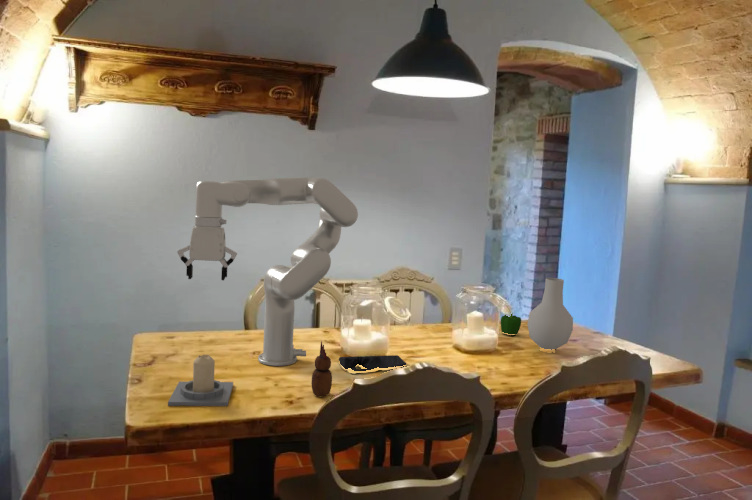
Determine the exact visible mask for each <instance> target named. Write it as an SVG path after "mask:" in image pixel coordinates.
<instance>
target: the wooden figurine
mask: <svg viewBox="0 0 752 500" xmlns="http://www.w3.org/2000/svg"><path fill="white" fill-rule="evenodd" d="M331 366H332V360H331V357H330V356H328V355H327V352H326V349H325V344H323V342H322V341H320V348H319V355H317V356H316V357H315V359H314V367H315V369H314V370H313V371H312V374H311V391H312V394H313V395H314V396H315V395H316V396H315V397H317V396H325V397H328V396H329V395H330V392H331V389H332V385H333V374H332V373H333V372H331V369H330V368H331Z"/></svg>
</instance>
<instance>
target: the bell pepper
mask: <svg viewBox="0 0 752 500" xmlns="http://www.w3.org/2000/svg"><path fill="white" fill-rule="evenodd" d="M506 315H507V314H504V315H501V318H500V329H501V333H502V332H504V333H508V334H517V333H518V334H519V331H520V329H521V325H522V319H521V317H519V316H516V315H513V312H512V314H511V316H510V315H509V316H510V317H508V316H506ZM518 334H517V335H518Z"/></svg>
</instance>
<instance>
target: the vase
mask: <svg viewBox="0 0 752 500" xmlns="http://www.w3.org/2000/svg"><path fill="white" fill-rule="evenodd" d="M564 280H565V279H562V278H558V277H557V278H556V277H546V278H545V283H544V292H543V296H542V300H541V302H539V304H538V305H537V306H536V307H534V308H533V309H532V310H531V311H530V312H529V314H528V320H527V328H528V335H529V338H530V339H531V340H532V341H533V342H534V343H535V344H536V345H537V346H538V348H539V347H541V348H544V349H551V350H552V349H556V350H557V349H559V348H560V347H563V346H565V345H567V344H568V342H569V340H570V337H571V335H572V333H573V330H574V317H573V316H572V314H571V313H570V312H569V311H568V309H567V308H566V307H565V305H564V294H563V293H564V283H565V281H564Z"/></svg>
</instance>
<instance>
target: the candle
mask: <svg viewBox="0 0 752 500" xmlns="http://www.w3.org/2000/svg"><path fill="white" fill-rule="evenodd" d="M215 363H216V362H215V359H214V358H213V357H211V355H210V354H202V355H198V356H197V357H196V358H195V359H194V360H193V364H192V365H193V366H192V368H193V370H192V375H193V377H192V380H193V392H210V391H214V380H215Z"/></svg>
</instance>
